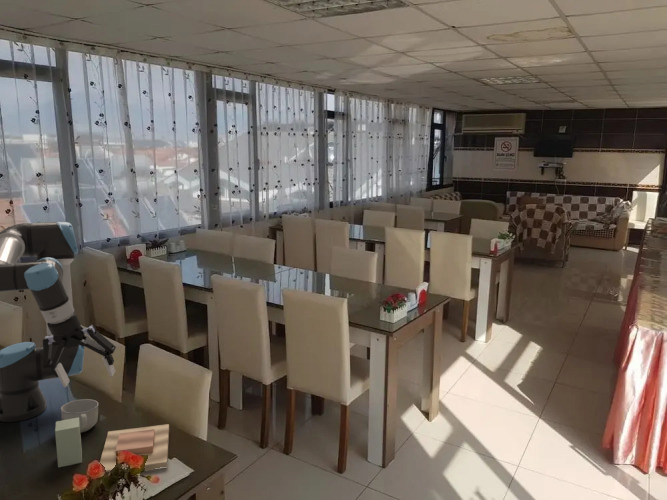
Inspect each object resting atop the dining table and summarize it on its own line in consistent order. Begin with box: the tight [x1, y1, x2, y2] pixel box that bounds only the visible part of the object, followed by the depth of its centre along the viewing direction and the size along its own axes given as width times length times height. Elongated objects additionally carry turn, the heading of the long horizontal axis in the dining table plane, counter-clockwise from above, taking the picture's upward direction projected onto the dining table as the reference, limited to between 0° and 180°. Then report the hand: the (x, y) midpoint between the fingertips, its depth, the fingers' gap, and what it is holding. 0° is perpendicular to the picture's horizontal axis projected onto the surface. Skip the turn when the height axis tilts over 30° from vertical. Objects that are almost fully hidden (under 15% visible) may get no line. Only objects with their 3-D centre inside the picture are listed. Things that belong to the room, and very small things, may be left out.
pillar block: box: [54, 417, 83, 468], centre depth 148 cm, size 6×6×11 cm
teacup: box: [60, 398, 99, 434], centre depth 164 cm, size 14×11×8 cm
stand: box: [99, 423, 170, 472], centre depth 152 cm, size 22×18×4 cm
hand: (89, 378), depth 150 cm, fingers open, 13 cm apart
